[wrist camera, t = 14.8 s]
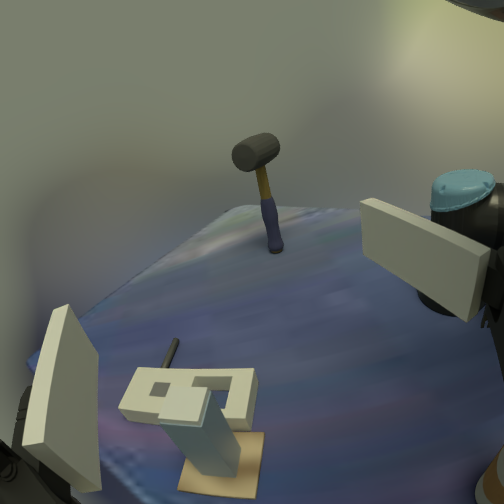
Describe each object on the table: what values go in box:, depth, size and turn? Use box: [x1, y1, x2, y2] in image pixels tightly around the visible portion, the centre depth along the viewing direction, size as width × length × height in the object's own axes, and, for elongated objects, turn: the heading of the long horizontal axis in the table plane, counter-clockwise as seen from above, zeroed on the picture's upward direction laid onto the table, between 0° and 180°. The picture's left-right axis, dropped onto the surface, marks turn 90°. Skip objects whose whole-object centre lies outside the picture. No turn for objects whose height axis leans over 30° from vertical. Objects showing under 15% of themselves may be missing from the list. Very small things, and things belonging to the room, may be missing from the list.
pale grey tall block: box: [158, 386, 241, 478], centre depth 31 cm, size 4×4×14 cm
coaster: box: [177, 432, 265, 499], centre depth 35 cm, size 10×10×1 cm
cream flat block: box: [118, 338, 259, 431], centre depth 48 cm, size 19×20×4 cm
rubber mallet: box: [232, 133, 284, 253], centre depth 77 cm, size 12×8×30 cm, turn 152°
